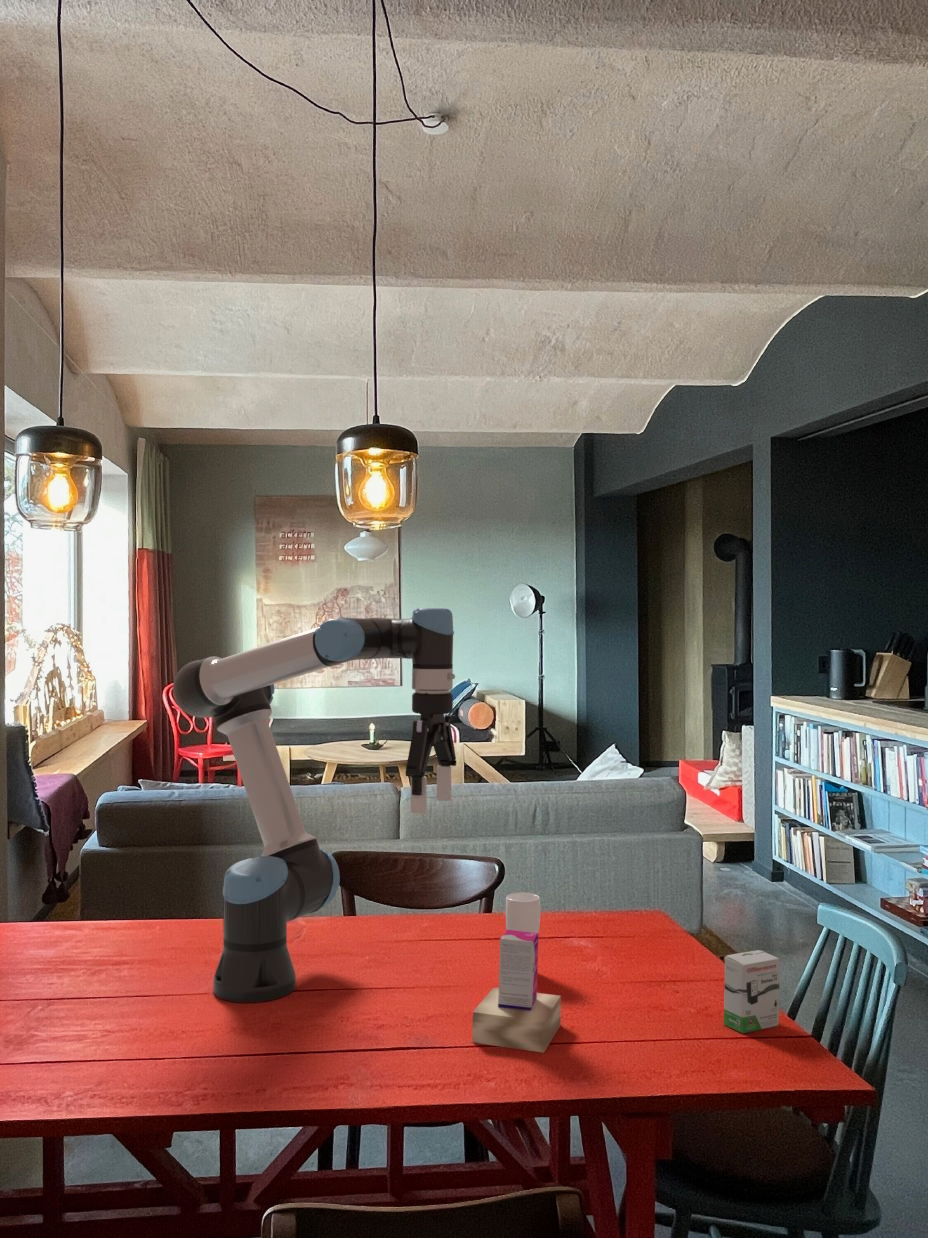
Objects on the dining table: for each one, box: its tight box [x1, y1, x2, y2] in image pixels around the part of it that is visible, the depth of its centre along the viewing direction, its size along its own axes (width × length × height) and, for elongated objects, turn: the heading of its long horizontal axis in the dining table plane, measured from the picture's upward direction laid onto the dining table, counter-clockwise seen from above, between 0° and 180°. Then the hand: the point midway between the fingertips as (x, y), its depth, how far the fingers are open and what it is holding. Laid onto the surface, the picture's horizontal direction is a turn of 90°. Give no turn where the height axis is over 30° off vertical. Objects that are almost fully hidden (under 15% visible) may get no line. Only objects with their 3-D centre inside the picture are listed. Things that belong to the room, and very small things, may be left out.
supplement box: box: [498, 929, 540, 1011], centre depth 174 cm, size 6×6×12 cm
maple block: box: [472, 987, 562, 1054], centre depth 174 cm, size 12×12×5 cm
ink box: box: [723, 949, 781, 1034], centre depth 178 cm, size 9×5×12 cm, turn 118°
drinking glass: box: [505, 892, 541, 935], centre depth 204 cm, size 7×7×15 cm
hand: (431, 806), depth 192 cm, fingers open, 13 cm apart
